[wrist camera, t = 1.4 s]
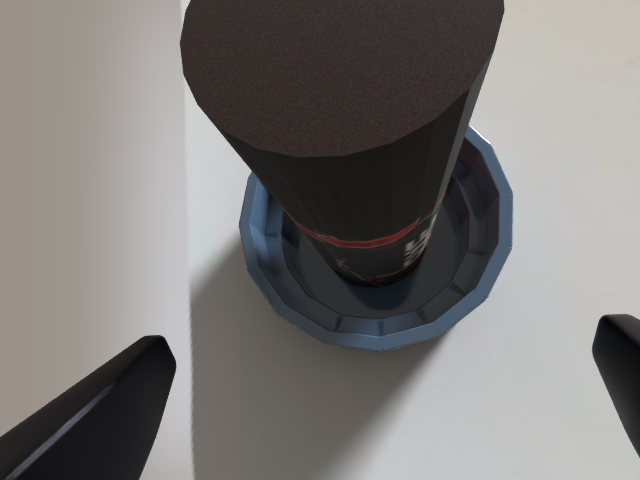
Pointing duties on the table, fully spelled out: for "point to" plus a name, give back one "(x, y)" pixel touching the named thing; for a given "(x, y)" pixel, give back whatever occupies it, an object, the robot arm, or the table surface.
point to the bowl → (405, 295)
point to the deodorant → (345, 112)
